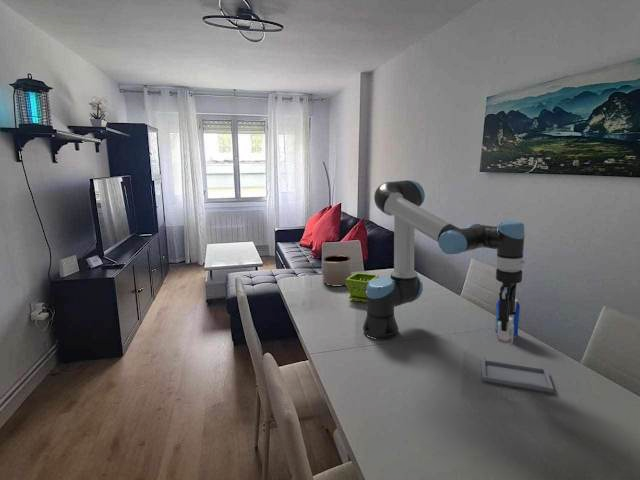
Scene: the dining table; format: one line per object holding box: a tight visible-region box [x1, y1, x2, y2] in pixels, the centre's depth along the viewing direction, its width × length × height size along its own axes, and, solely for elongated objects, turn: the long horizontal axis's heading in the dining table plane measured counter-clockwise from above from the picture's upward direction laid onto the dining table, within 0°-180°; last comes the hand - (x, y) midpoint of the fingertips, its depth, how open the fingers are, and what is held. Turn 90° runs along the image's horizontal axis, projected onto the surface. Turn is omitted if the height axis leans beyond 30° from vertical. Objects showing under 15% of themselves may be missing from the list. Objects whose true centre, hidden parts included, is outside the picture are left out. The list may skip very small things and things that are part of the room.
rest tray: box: [481, 358, 555, 395], centre depth 120 cm, size 20×12×2 cm, turn 68°
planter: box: [322, 254, 353, 286], centre depth 223 cm, size 18×18×16 cm
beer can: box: [494, 297, 521, 340], centre depth 147 cm, size 8×8×16 cm
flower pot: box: [346, 272, 380, 303], centre depth 194 cm, size 14×14×13 cm
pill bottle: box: [496, 316, 514, 345], centre depth 120 cm, size 5×5×8 cm
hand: (505, 335), depth 120 cm, fingers closed on pill bottle, 5 cm apart
